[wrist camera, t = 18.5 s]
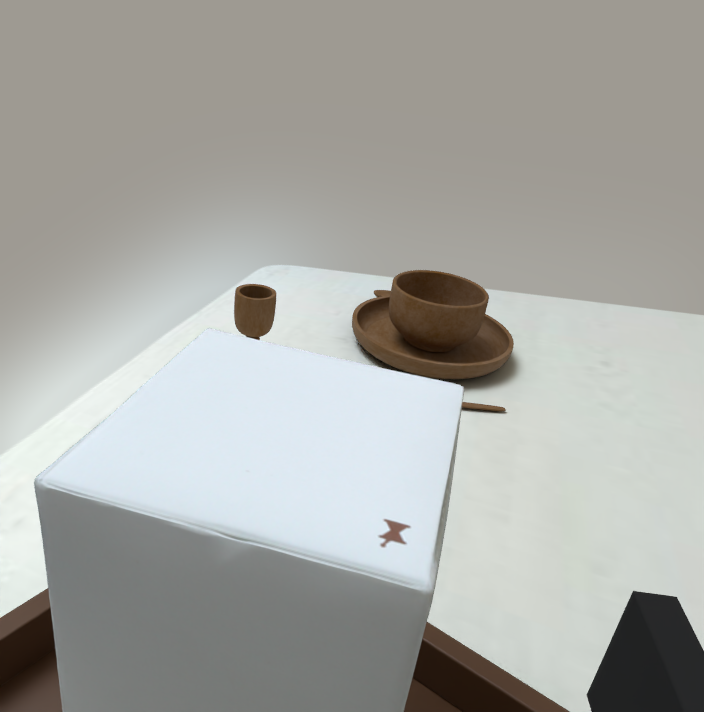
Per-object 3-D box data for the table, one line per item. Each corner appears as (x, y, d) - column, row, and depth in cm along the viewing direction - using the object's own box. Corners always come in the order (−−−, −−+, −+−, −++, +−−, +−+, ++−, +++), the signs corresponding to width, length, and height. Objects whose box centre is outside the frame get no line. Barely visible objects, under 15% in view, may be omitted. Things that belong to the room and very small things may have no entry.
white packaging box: (397, 704, 22) (479, 382, 17) (339, 974, 16) (440, 598, 10) (196, 639, 24) (208, 318, 18) (66, 865, 17) (20, 474, 11)
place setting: (540, 419, 42) (566, 337, 40) (223, 391, 40) (228, 302, 38) (480, 309, 58) (496, 245, 55) (250, 285, 56) (254, 216, 53)
